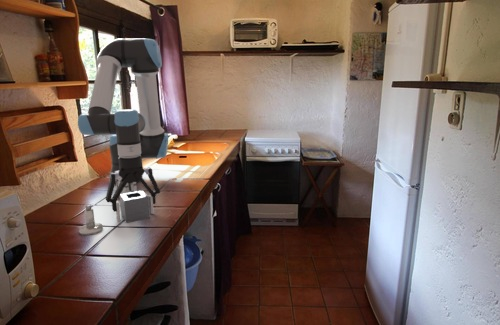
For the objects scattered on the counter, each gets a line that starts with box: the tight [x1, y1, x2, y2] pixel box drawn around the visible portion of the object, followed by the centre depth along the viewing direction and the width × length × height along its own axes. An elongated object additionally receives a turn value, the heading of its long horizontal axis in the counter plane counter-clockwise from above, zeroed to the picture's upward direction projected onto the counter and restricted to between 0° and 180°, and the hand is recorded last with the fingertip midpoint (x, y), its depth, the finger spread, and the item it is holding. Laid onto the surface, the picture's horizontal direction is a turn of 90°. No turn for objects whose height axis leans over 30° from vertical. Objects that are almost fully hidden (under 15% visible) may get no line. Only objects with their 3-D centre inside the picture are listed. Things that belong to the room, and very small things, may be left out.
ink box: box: [115, 170, 138, 200], centre depth 137 cm, size 9×5×12 cm, turn 47°
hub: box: [78, 204, 104, 236], centre depth 109 cm, size 7×7×8 cm
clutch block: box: [119, 190, 151, 223], centre depth 120 cm, size 8×8×8 cm
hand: (135, 216), depth 121 cm, fingers open, 11 cm apart
